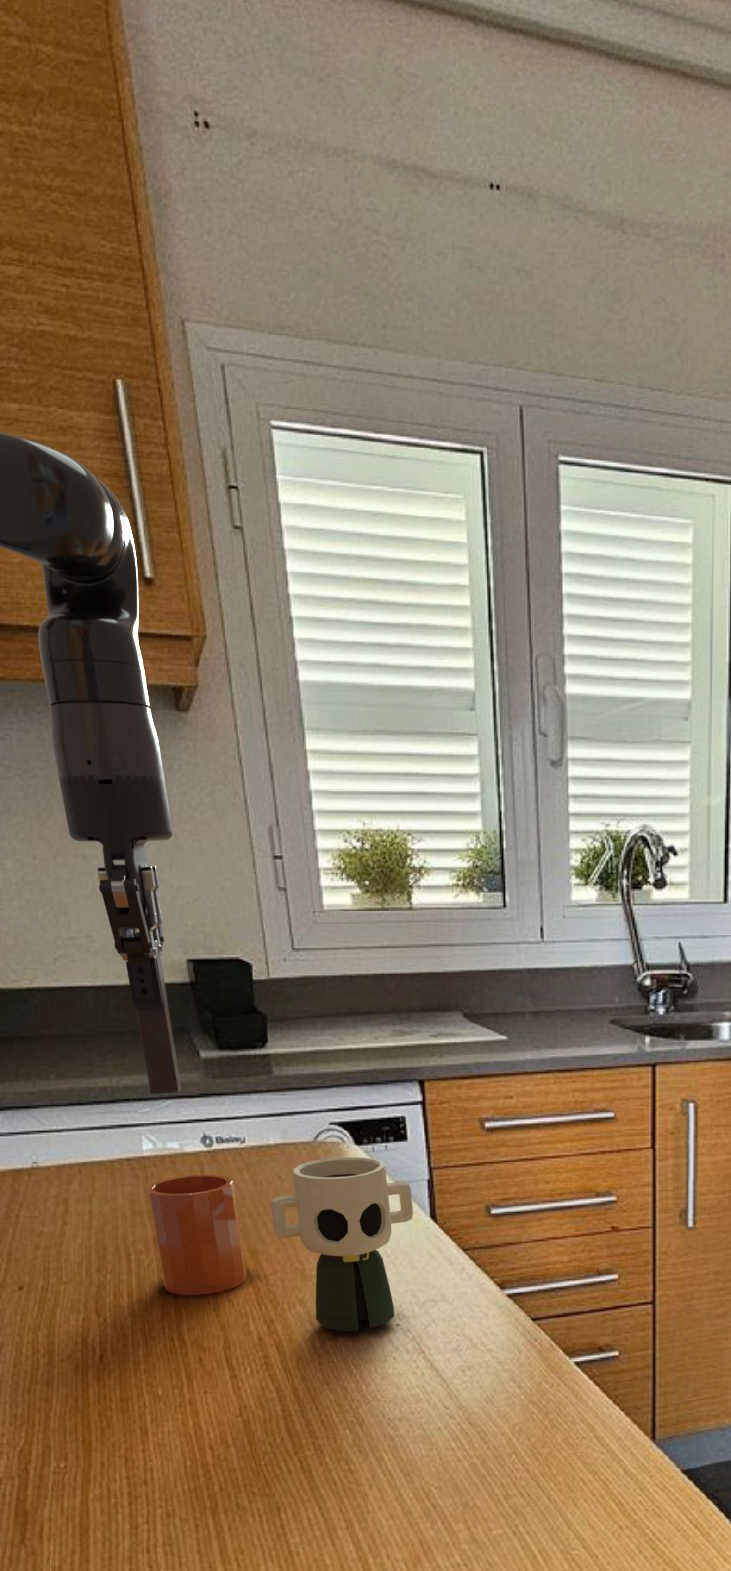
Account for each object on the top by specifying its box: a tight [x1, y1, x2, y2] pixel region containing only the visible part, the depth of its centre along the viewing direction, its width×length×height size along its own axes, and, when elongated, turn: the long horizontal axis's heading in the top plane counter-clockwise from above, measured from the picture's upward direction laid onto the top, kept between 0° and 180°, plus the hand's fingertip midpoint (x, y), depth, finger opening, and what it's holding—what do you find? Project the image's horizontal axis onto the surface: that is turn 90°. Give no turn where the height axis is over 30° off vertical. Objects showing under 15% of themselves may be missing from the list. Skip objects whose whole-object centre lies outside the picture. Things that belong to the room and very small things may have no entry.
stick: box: [128, 940, 182, 1095], centre depth 99 cm, size 2×2×12 cm
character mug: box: [270, 1156, 414, 1332], centre depth 95 cm, size 11×7×13 cm, turn 115°
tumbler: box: [146, 1174, 247, 1296], centre depth 106 cm, size 7×7×9 cm
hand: (151, 1005), depth 98 cm, fingers closed on stick, 2 cm apart
